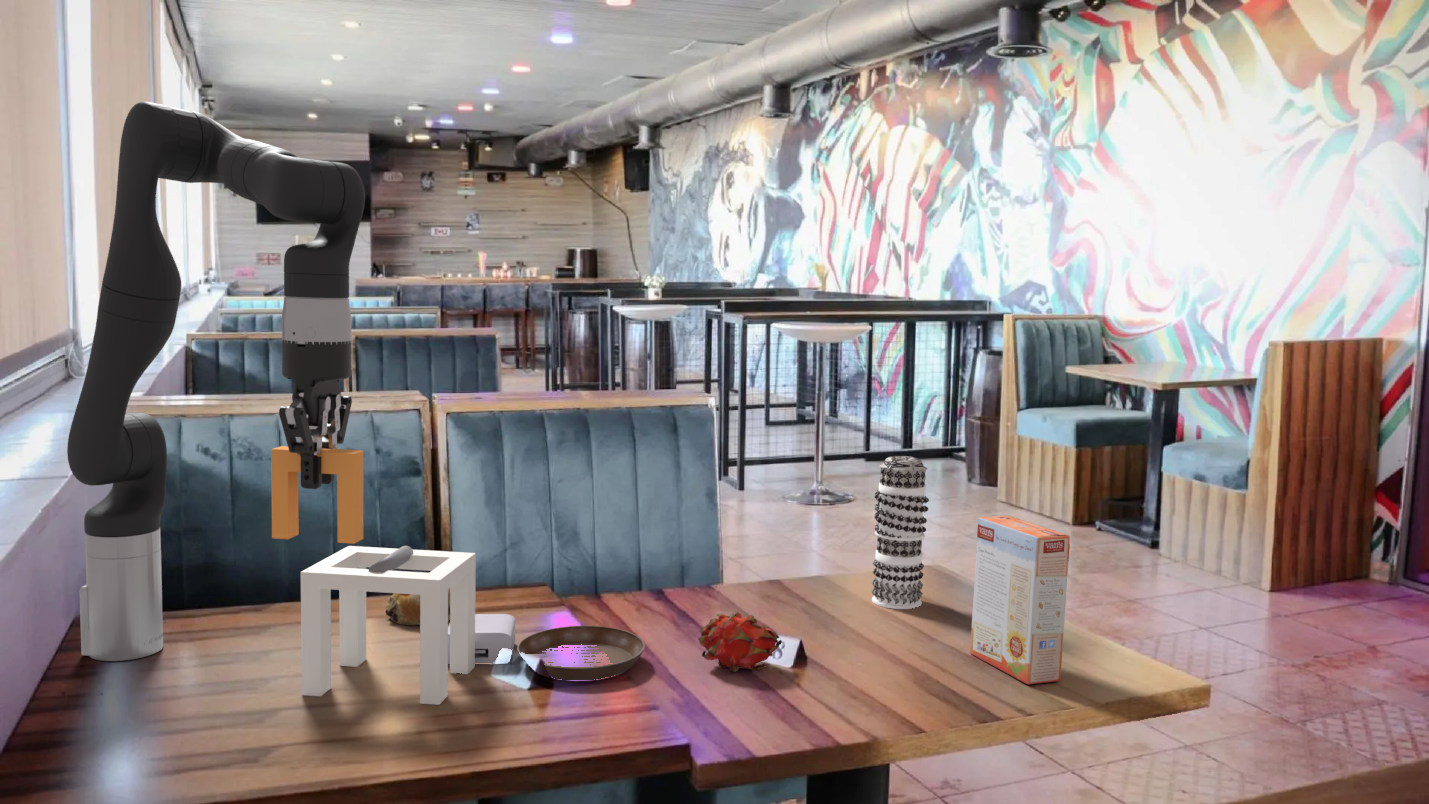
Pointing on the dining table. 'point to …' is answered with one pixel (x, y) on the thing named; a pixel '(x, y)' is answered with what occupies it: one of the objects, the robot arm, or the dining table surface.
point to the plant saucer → (612, 641)
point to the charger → (491, 636)
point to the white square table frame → (355, 580)
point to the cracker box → (1020, 598)
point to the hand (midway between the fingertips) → (317, 484)
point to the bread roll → (407, 608)
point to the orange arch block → (332, 462)
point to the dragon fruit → (738, 642)
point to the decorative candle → (899, 533)
